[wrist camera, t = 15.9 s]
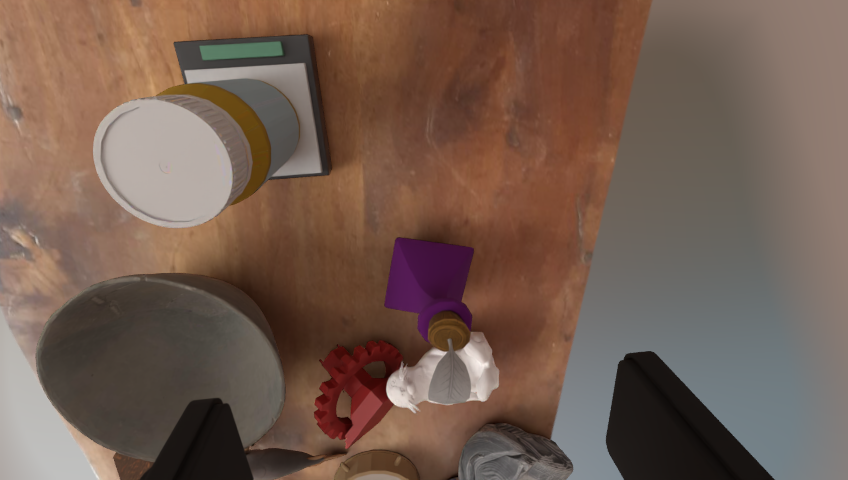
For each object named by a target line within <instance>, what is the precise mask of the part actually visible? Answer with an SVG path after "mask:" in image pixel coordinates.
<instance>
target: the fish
mask: <svg viewBox="0 0 848 480" xmlns="http://www.w3.org/2000/svg"><path fill="white" fill-rule="evenodd" d="M244 450H245V454H246V457H247V460H248V463H249V466H250V469H251V472H252V475H253V478H254V480H274V479H277V478H280V477H283V476H286V475H289V474H292V473H294V472H297V471H299V470H302V469H304V468H306V467H311V466H316V465H319V464H321V463H322V462H324V461H327V460H331V459H334V458H338V457H341V456H344V455H346V454H336V455H331V456H326V455H327V454H326V455H317V456H312V455H309V454H307V453H304V452H300V451H293V450H286V449H278V448H268V449H263V450H257V449H255V450H249V447H248V448H246V449H244ZM324 456H326V457H324Z"/></svg>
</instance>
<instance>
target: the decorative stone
mask: <svg viewBox="0 0 848 480" xmlns="http://www.w3.org/2000/svg"><path fill="white" fill-rule="evenodd" d="M572 472H573V465H572V462H571V461H570V459H569V458H568V457H567V456H566V455H565V454H564V452H563V451H562V450H561V449H560V448H559V447H558V446H557V444H556V443H555V442H554V441H552V440H549V439H547V438H545V437H543V436H540V435H535V434H530V433H526V432H525V431H523V430H522V429H521V428H518V427H515V426H512V425H510V424H507V423H498V424H495V425H494V424H487V425H485V426H484V427H482V428H481V429H480V430H479V431H478V432H477V433H475V434H474V435H473V436H472V437H471V438H470V439H469V440H468V441H467V443H466V444H465V446H464V448H463V450H462V453H461V457H460V460H459V471H458V478H459V480H566V479H567V478H568V477H569V475H570V474H571V473H572Z"/></svg>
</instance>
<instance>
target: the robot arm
mask: <svg viewBox="0 0 848 480" xmlns="http://www.w3.org/2000/svg"><path fill="white" fill-rule="evenodd" d="M606 445H607V449H608V452H609V454H610V456H611V458H612V459H613V461H614V463H615V465H616V466H617V468H618V470H619V471H620V473H621V475H622V477H623V478H624V480H774V478H772V476H771V475H770V474H769V473H768V472H767V471H766V470H765V469H764V468H763V467H762V466H761V465H760V464H759V463H758V462H757V460H756V459H755V458H754V457H753V456H752V455H751V454H750V453H749V452H748V451H747V450H746V449H745V448H744V447H743V446H742V445H741V443H740V442H739V441H738V440H737V439H736V438H735V437H734V436H733V435H732V434H731V433H730V432H729V431H728V430H727V429H726V428H725V427H724V425H723V424H722V423H721V422H719V420H718V419H717V418H716V417H715V416H714V415H713V414H712V413H711V412H710V411H709V410H708V409H707V407H706V406H705V405H704V404H703V403H702V402H701V401H700V400H699V399H698V398H697V397H696V396H695V395H694V394H693V393H692V392H691V390H690V389H689V388H688V387H687V386H686V385H685V384H684V383H683V382H682V381H681V380H680V379H679V378H678V377H677V376H676V375H675V374H674V373H673V372H672V370H671V369H670V368H669V367H668V366H667V365H666V364H665V363H664V362H663V361H662V360H661V359H660V358H659V357H658V356H657V355H656V354H655V353H654V352H651V351H646V352H637V353H629V354H626V355H625V357H624V360H622V361H620V362H619V364H618V369H617V375H616V381H615V387H614V393H613V399H612V405H611V411H610V417H609V424H608V430H607V435H606ZM140 480H254V478H253V475H252V472H251V469H250V466H249V463H248V460H247V457H246V454H245V450H244V447H243V444H242V441H241V438H240V435H239V432H238V429H237V426H236V423H235V420H234V417H233V413H232V410H231V407H230V405H229V404H228V403H224V404H223V402H222V400H221V399H220V398H209V399H200V400H192V401H191V402H190V403H189V404H188V405H187V407H186V409H185V410H184V412H183V414H182V415H181V417H180V419H179V421H178V422H177V424H176V426H175V427H174V429H173V431H172V433H171V434H170V436H169V438H168V439H167V441H166V443H165V445H164V446H163V448H162V450H161V451H160V453H159V455H158V457H157V458H156V460H155V462H154V464H153V465H152V467H151V468H150V469H148V470H147V471H146V472H145V473H144V474H143V475H142V477H141V478H140Z"/></svg>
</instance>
